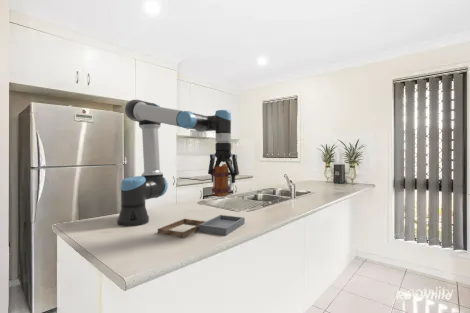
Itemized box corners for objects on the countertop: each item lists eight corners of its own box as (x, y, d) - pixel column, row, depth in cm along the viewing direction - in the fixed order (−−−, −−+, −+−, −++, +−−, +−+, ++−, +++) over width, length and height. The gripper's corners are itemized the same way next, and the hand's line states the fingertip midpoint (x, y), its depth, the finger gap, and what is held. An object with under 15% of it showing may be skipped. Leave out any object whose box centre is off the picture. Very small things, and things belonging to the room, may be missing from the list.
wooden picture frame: (157, 233, 112) (157, 229, 112) (184, 222, 130) (184, 218, 130) (183, 237, 106) (183, 233, 106) (207, 225, 125) (207, 221, 125)
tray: (199, 231, 116) (199, 224, 115) (220, 220, 135) (220, 214, 135) (226, 235, 110) (226, 228, 110) (244, 223, 129) (244, 217, 129)
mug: (227, 198, 114) (227, 165, 114) (210, 197, 116) (210, 164, 116) (234, 193, 128) (234, 163, 128) (218, 192, 130) (218, 163, 130)
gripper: (200, 142, 123) (200, 189, 123) (240, 141, 114) (240, 191, 114) (208, 143, 130) (208, 187, 130) (246, 142, 121) (246, 189, 121)
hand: (223, 189), depth 122 cm, fingers closed on mug, 8 cm apart
